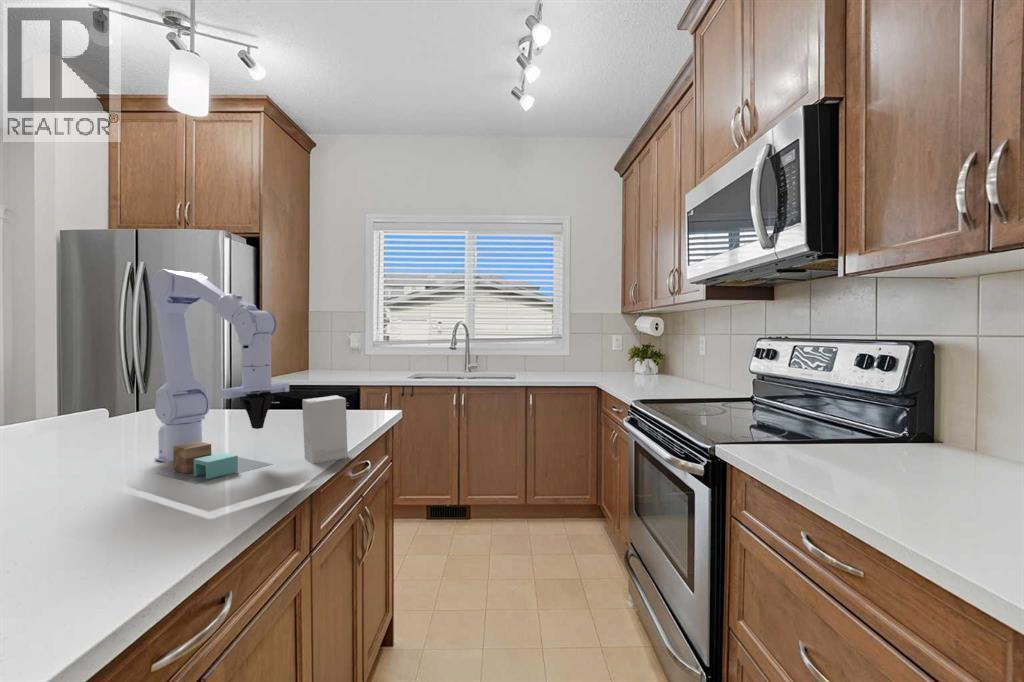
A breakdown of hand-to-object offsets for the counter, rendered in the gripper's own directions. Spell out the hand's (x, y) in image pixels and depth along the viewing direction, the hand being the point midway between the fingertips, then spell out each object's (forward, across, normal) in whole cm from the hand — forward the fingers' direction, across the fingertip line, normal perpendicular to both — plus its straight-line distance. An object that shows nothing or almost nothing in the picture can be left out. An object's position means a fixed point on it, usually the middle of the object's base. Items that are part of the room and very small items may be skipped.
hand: (257, 428), depth 110 cm
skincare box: (+9, +10, -9) cm, 17 cm away
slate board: (+9, -6, +4) cm, 12 cm away
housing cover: (+8, -9, 0) cm, 12 cm away
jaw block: (+8, -10, +8) cm, 15 cm away
